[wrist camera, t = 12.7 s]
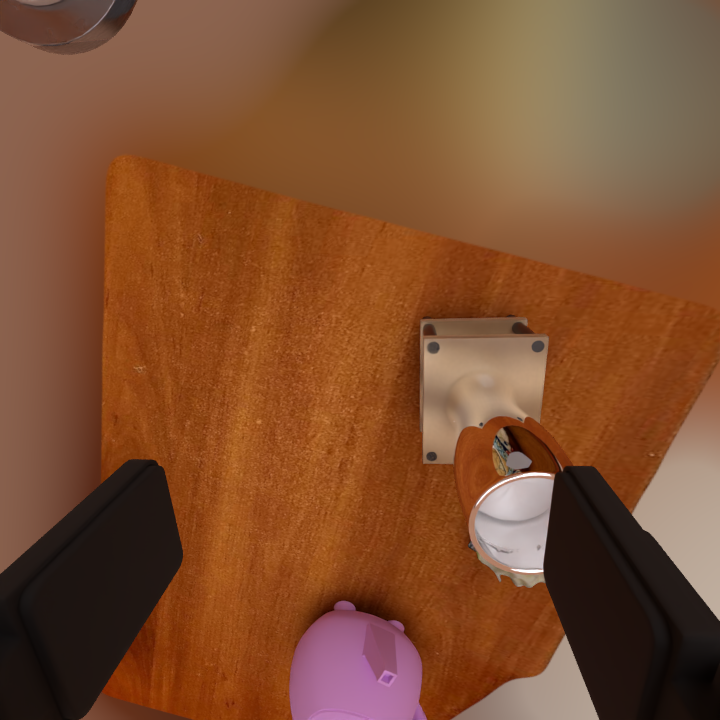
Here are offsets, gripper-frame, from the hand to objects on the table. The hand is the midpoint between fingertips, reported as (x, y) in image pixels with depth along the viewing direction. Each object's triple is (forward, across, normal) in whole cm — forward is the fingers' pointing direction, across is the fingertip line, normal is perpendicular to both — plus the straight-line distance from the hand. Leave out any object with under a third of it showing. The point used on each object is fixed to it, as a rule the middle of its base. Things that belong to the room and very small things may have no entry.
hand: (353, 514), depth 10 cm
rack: (+34, -8, +9) cm, 36 cm away
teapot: (+34, +3, +48) cm, 59 cm away
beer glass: (+25, -8, +9) cm, 28 cm away
